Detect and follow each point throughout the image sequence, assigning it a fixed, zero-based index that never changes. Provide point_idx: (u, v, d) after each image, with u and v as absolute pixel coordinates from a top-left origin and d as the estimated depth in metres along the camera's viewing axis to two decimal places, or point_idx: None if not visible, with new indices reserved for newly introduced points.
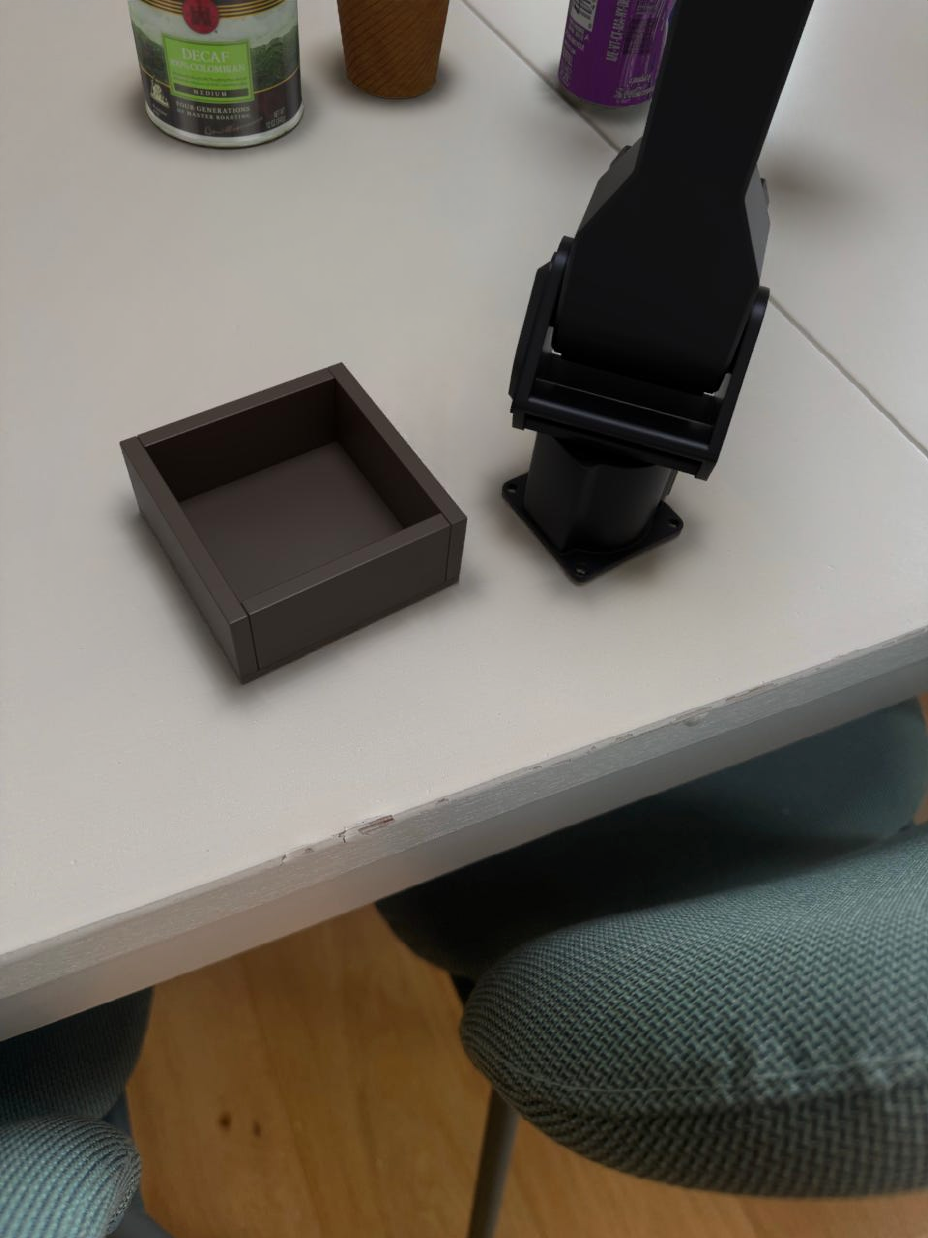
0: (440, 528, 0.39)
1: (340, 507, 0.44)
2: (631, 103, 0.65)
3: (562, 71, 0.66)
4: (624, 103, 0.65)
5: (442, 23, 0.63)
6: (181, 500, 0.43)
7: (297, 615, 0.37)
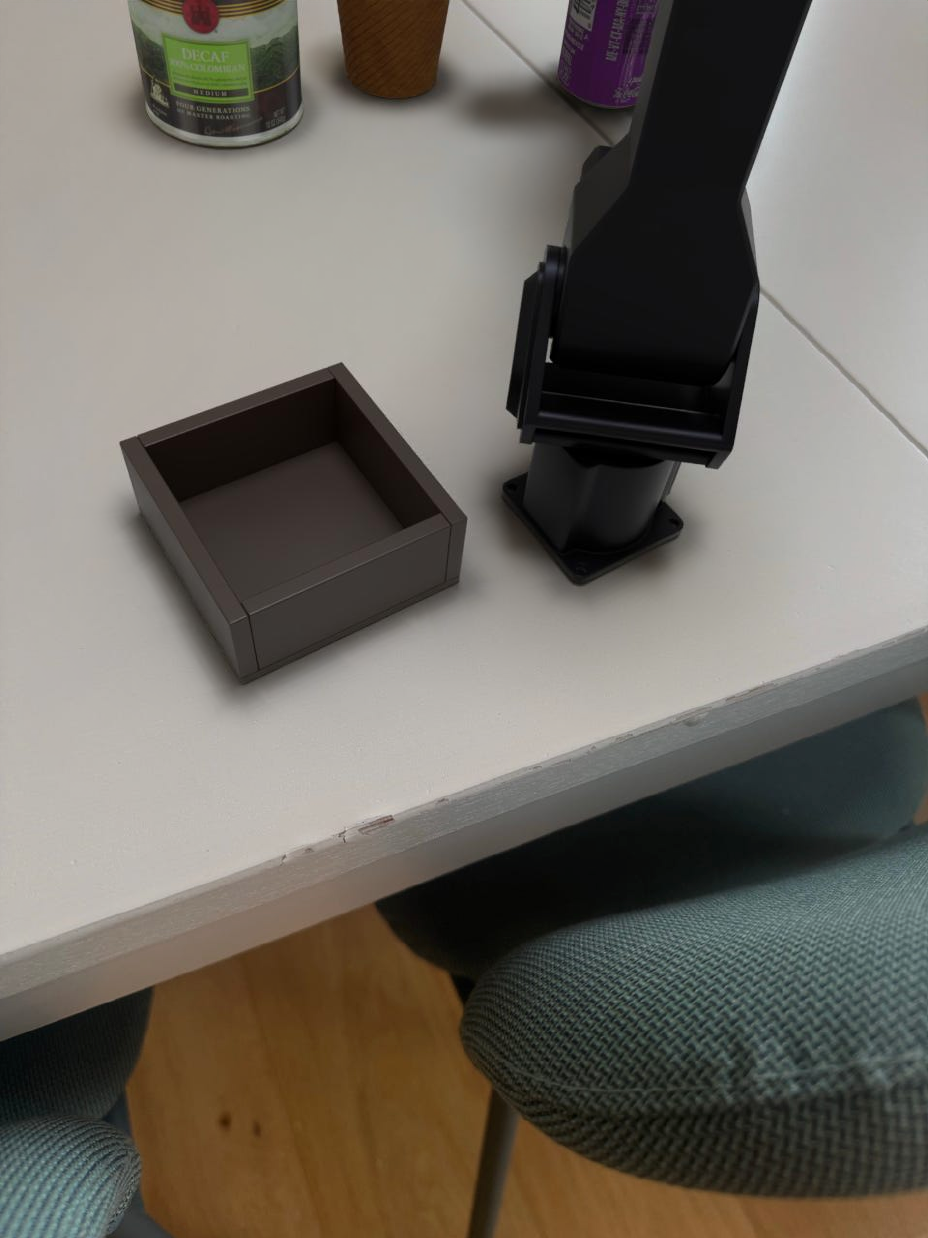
0: (440, 528, 0.39)
1: (340, 507, 0.44)
2: (630, 103, 0.65)
3: (561, 71, 0.66)
4: (623, 103, 0.65)
5: (442, 23, 0.63)
6: (181, 500, 0.43)
7: (297, 615, 0.37)
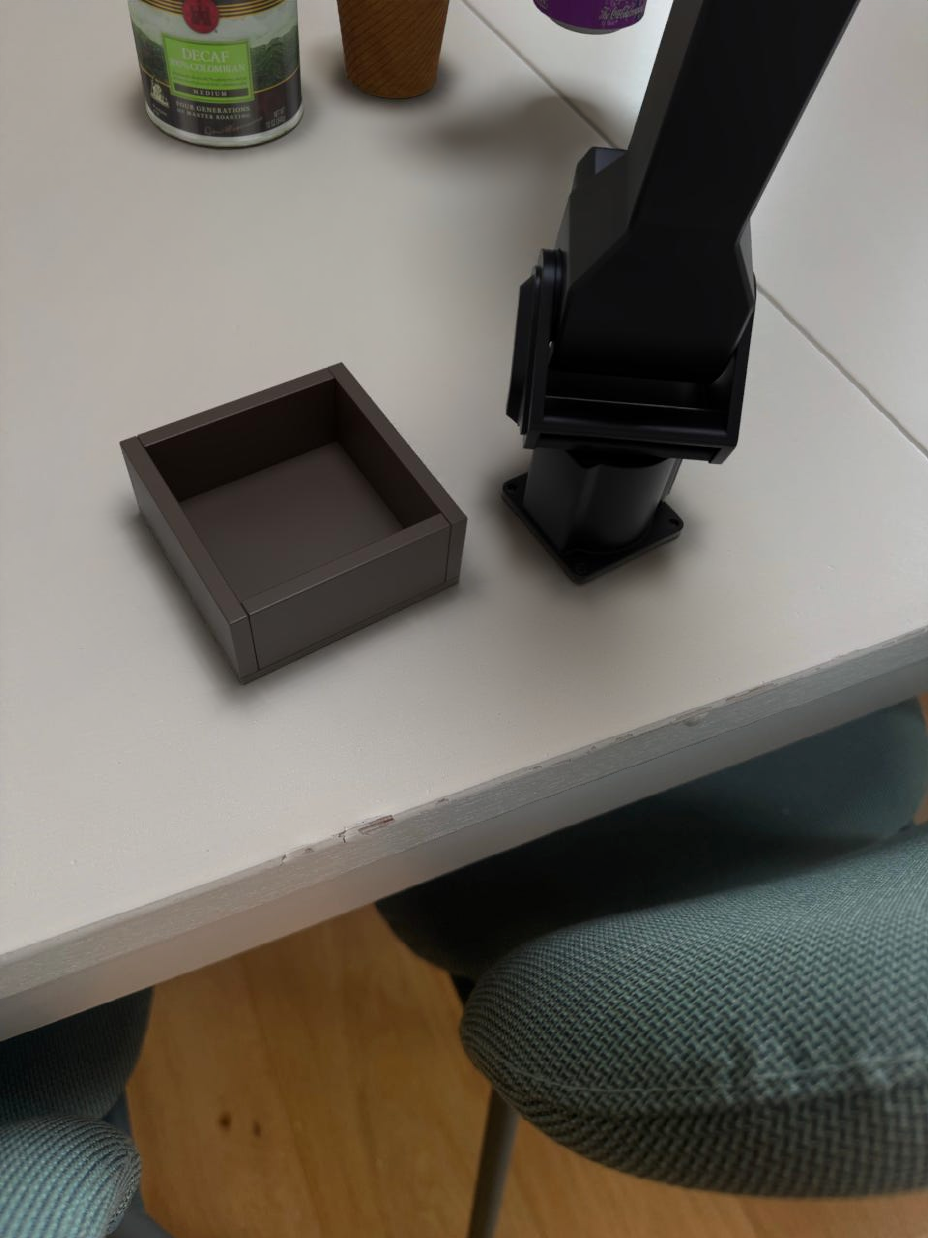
0: (440, 528, 0.39)
1: (340, 507, 0.44)
2: (618, 25, 0.58)
3: None
4: (611, 25, 0.57)
5: (442, 23, 0.63)
6: (181, 500, 0.43)
7: (297, 615, 0.37)
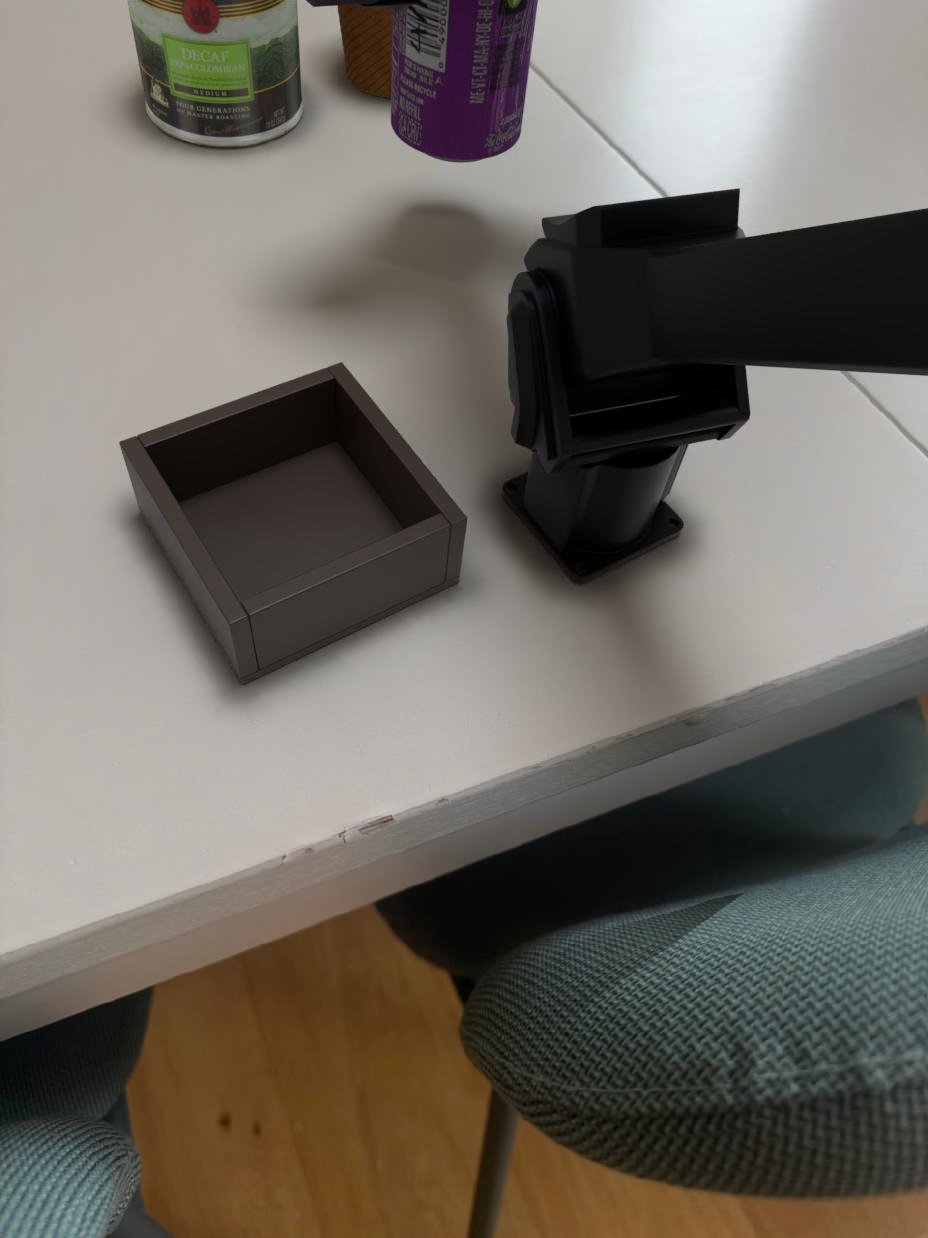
0: (440, 528, 0.39)
1: (340, 507, 0.44)
2: (505, 148, 0.50)
3: (404, 128, 0.50)
4: (497, 151, 0.50)
5: None
6: (181, 500, 0.43)
7: (297, 615, 0.37)
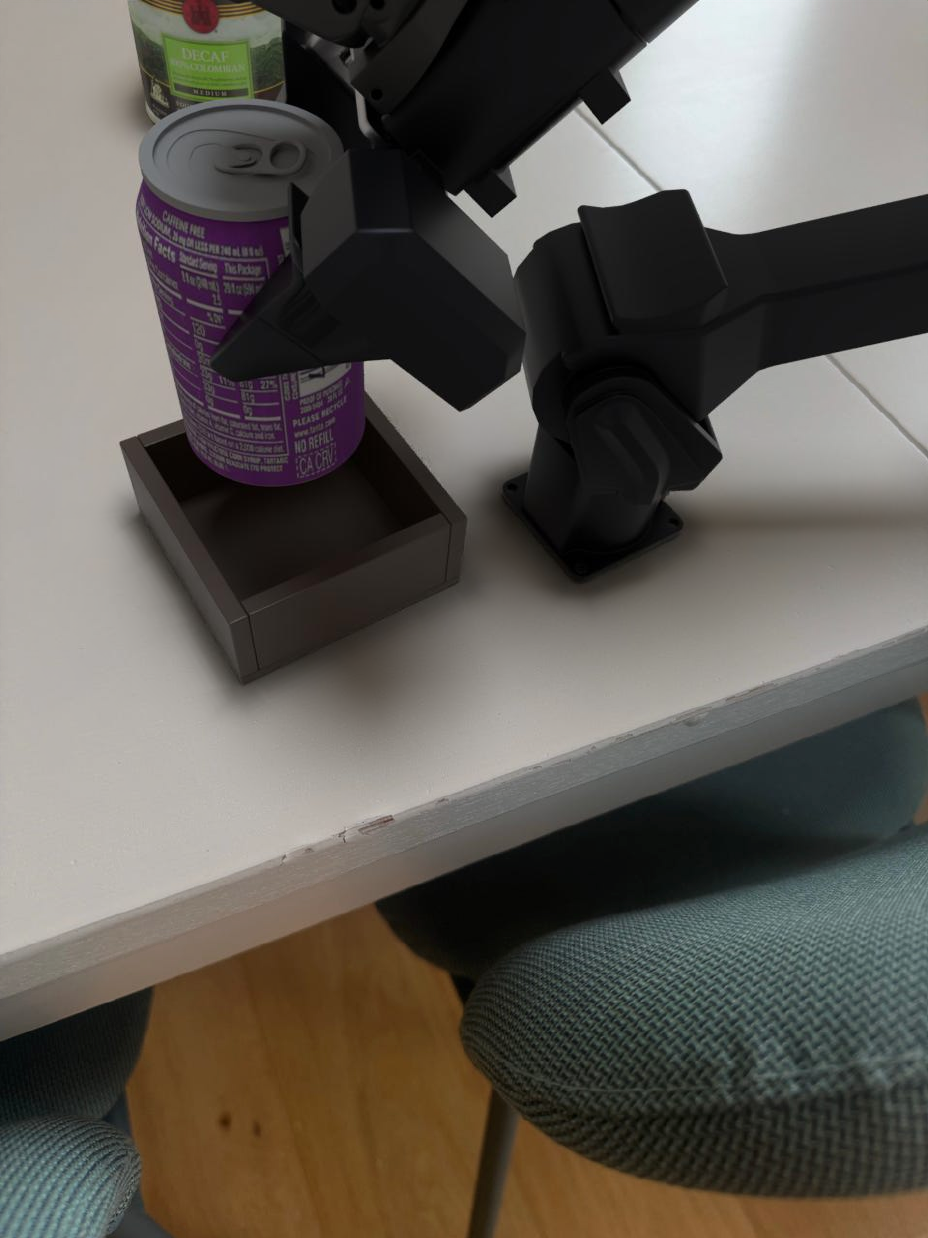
0: (440, 528, 0.39)
1: (340, 507, 0.44)
2: None
3: (309, 466, 0.36)
4: None
5: None
6: (181, 500, 0.43)
7: (297, 615, 0.37)
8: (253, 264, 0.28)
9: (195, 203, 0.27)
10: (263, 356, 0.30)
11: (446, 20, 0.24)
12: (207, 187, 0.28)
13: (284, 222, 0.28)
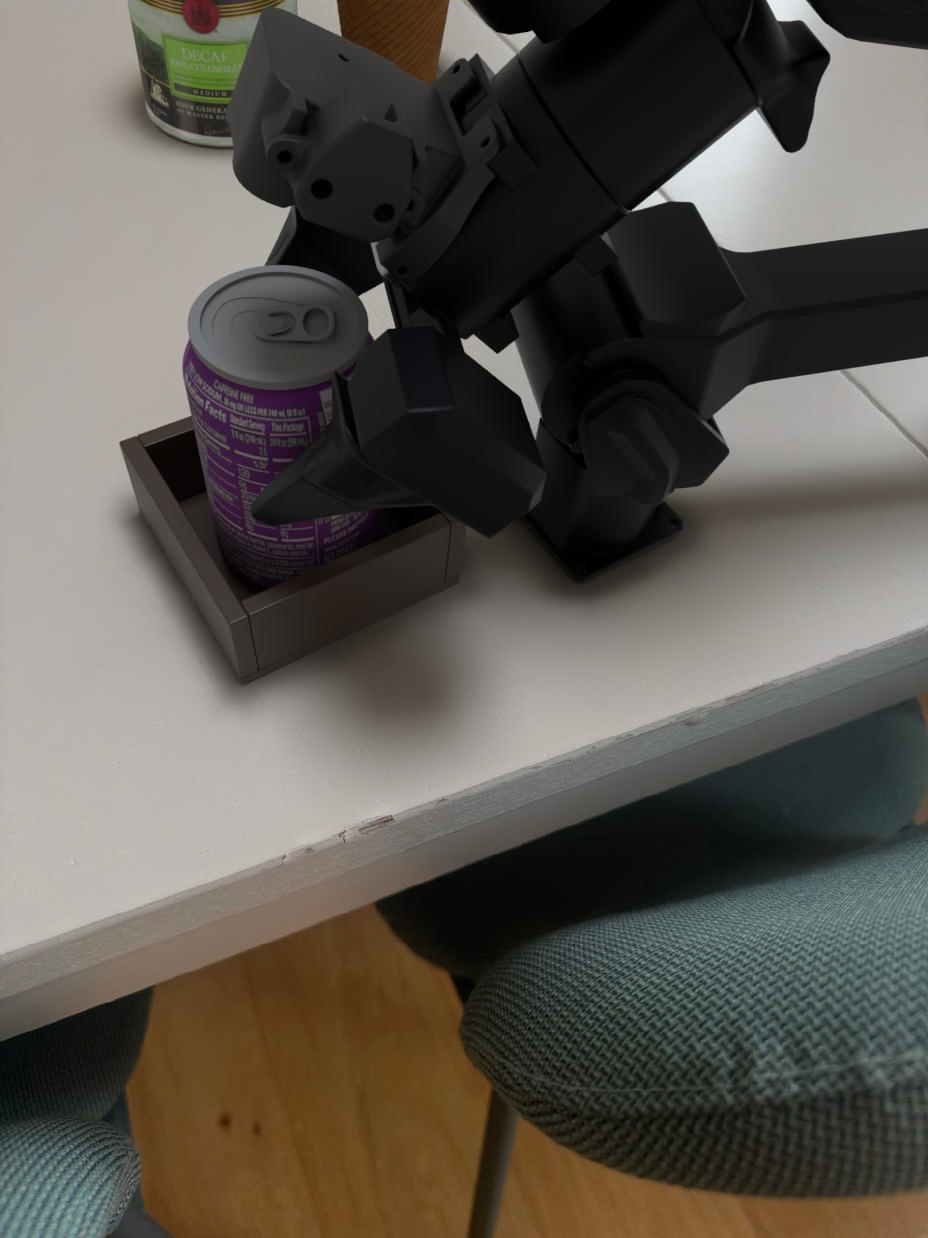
0: (440, 528, 0.39)
1: None
2: None
3: None
4: None
5: (442, 23, 0.63)
6: (181, 500, 0.43)
7: (297, 615, 0.37)
8: (297, 422, 0.32)
9: (246, 377, 0.31)
10: (302, 506, 0.33)
11: (463, 211, 0.28)
12: (252, 356, 0.32)
13: (323, 386, 0.32)
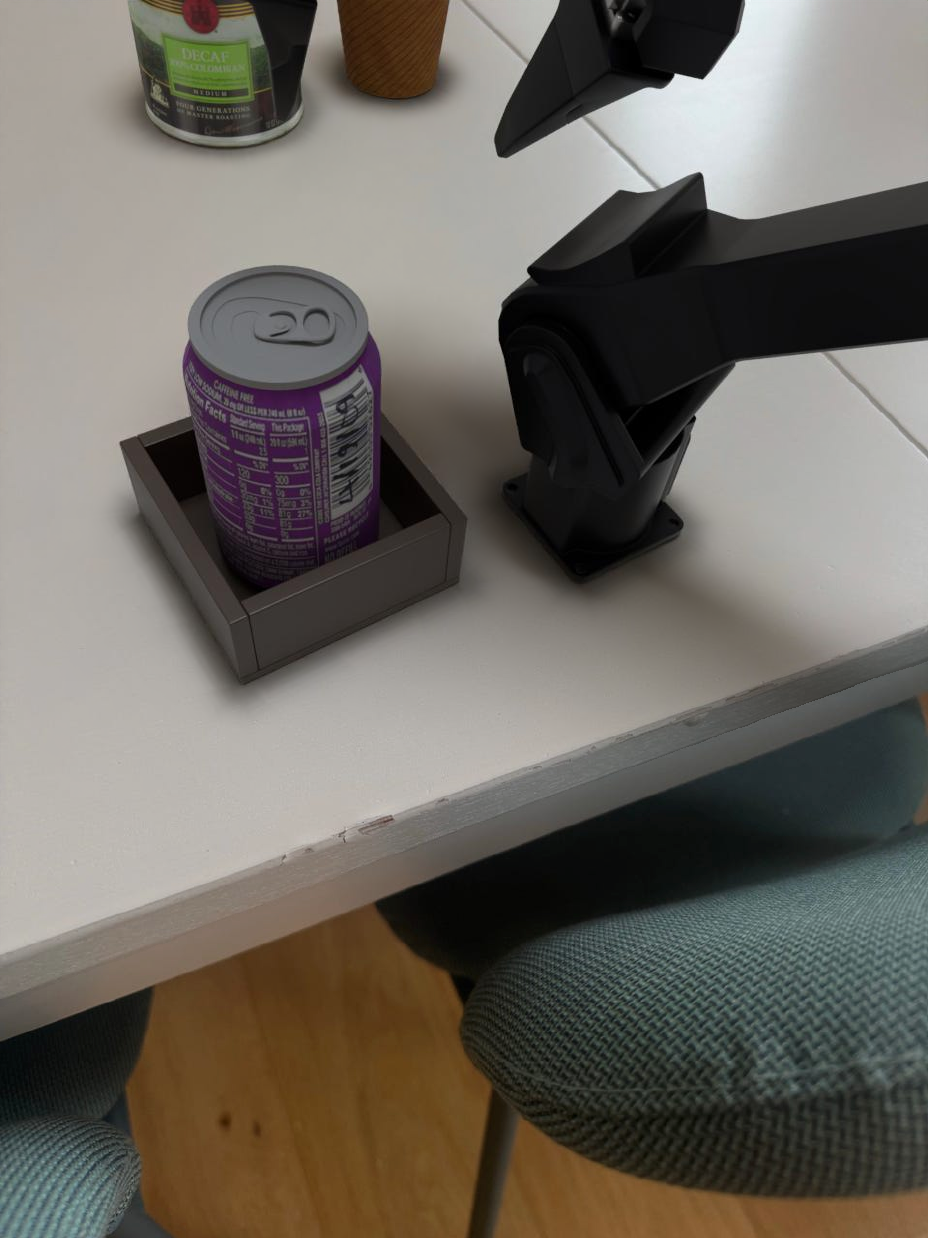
0: (440, 528, 0.39)
1: None
2: None
3: None
4: None
5: (442, 23, 0.63)
6: (181, 500, 0.43)
7: (297, 615, 0.37)
8: (297, 422, 0.32)
9: (246, 377, 0.31)
10: (269, 68, 0.34)
11: None
12: (252, 356, 0.32)
13: (323, 386, 0.32)
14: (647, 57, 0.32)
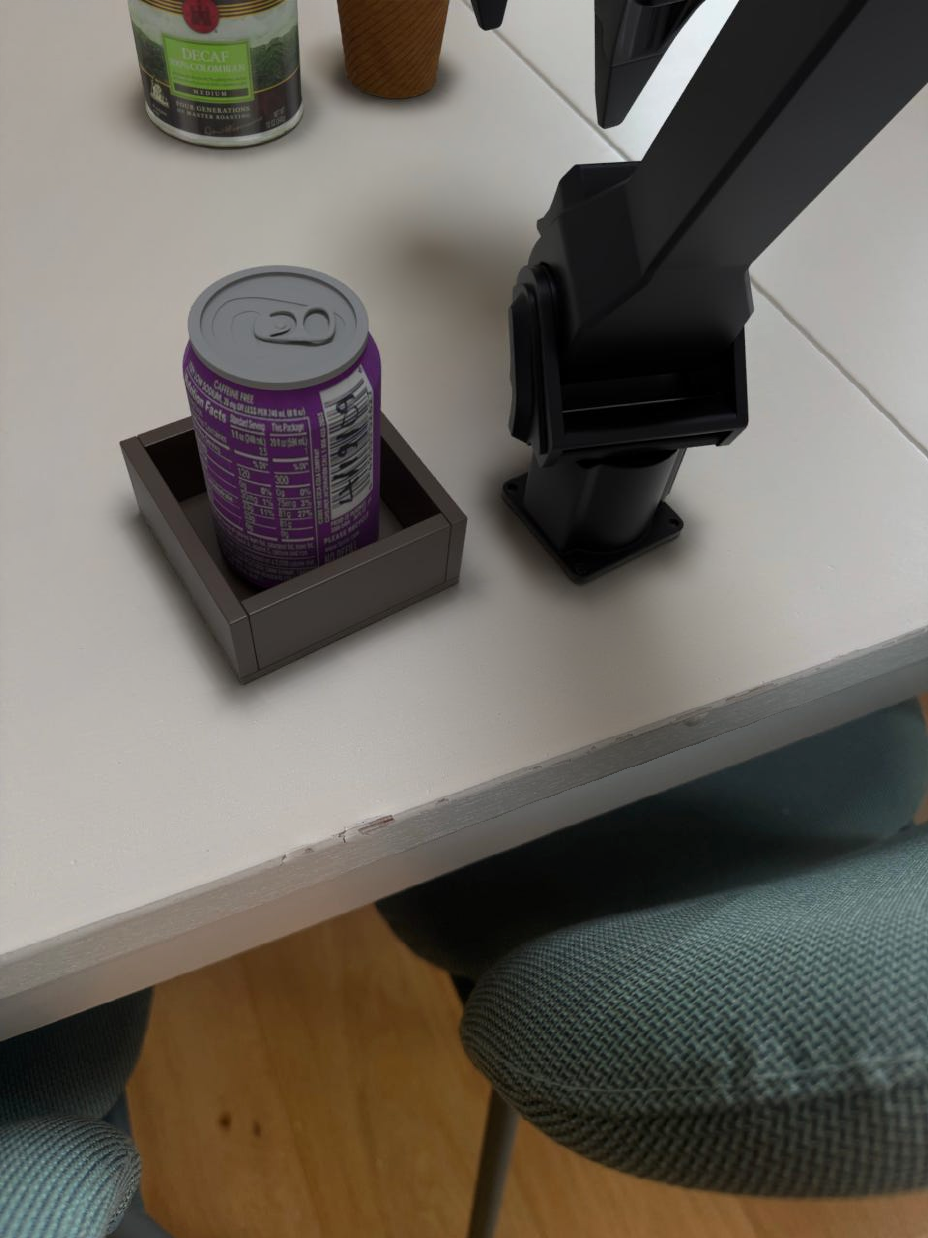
0: (440, 528, 0.39)
1: None
2: None
3: None
4: None
5: (442, 23, 0.63)
6: (181, 500, 0.43)
7: (297, 615, 0.37)
8: (297, 422, 0.32)
9: (246, 377, 0.31)
10: None
11: None
12: (252, 356, 0.32)
13: (323, 386, 0.32)
14: None
